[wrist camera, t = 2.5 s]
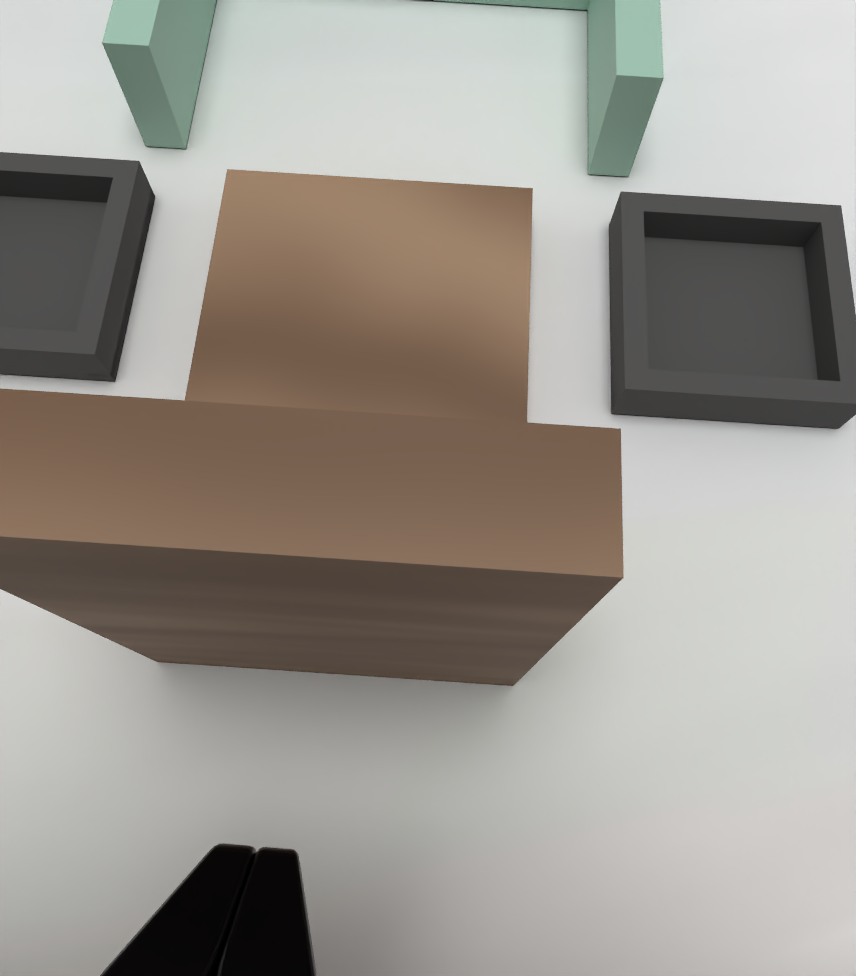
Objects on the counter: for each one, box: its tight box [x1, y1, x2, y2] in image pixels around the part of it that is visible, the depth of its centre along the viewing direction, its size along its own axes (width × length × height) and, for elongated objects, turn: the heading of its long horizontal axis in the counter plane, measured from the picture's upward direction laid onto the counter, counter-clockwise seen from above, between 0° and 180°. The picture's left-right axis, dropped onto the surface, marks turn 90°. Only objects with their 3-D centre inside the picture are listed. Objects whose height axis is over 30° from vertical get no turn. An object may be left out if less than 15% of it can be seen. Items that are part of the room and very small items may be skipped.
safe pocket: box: [102, 0, 664, 177], centre depth 20 cm, size 7×12×3 cm, turn 86°
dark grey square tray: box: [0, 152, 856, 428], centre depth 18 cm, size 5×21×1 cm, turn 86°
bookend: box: [0, 169, 623, 686], centre depth 14 cm, size 11×7×9 cm, turn 176°
